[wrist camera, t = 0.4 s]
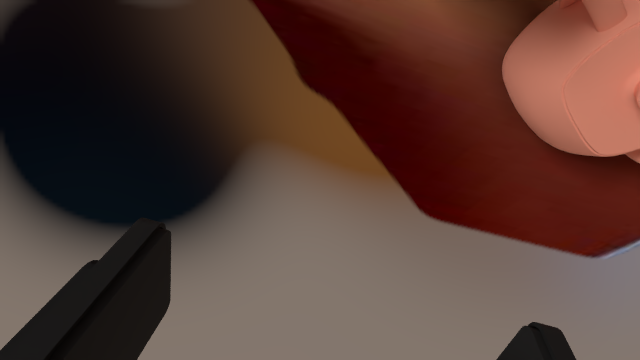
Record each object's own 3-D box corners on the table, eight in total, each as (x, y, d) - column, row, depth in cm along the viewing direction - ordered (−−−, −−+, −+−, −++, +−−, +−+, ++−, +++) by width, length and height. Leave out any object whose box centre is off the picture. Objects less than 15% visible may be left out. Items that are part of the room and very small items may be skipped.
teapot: (554, 177, 40) (617, 252, 29) (457, 19, 33) (492, 42, 23) (702, 104, 34) (845, 165, 24) (618, -100, 28) (761, -142, 18)
